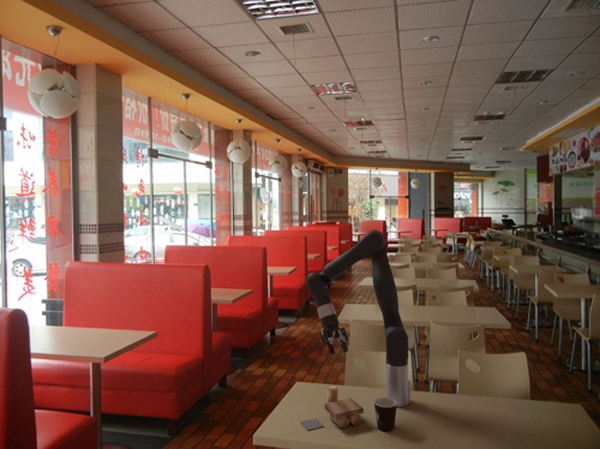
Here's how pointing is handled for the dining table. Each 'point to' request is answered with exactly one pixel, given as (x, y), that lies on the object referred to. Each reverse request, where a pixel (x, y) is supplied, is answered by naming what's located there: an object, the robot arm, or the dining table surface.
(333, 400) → the roller
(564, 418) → the dining table surface
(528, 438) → the dining table surface
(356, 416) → the slab
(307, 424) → the mat
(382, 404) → the coffee mug
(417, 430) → the dining table surface
